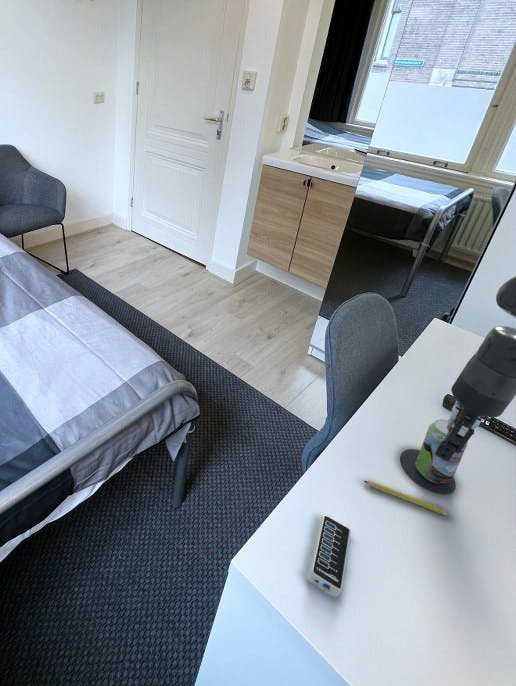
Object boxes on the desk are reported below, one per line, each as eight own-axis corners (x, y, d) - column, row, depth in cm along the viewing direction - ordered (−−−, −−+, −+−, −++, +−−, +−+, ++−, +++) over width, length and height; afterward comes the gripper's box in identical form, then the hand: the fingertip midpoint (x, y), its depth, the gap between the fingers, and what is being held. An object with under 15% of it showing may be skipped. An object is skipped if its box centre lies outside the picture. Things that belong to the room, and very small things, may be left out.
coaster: (458, 472, 85) (459, 471, 85) (450, 505, 79) (450, 504, 79) (406, 441, 91) (406, 440, 91) (394, 469, 84) (395, 468, 84)
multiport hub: (346, 536, 72) (351, 528, 71) (336, 599, 64) (341, 591, 63) (319, 520, 74) (323, 513, 73) (306, 579, 66) (311, 572, 65)
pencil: (361, 479, 82) (363, 476, 81) (444, 511, 77) (446, 508, 77) (362, 484, 81) (363, 481, 80) (445, 517, 77) (448, 513, 76)
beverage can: (436, 493, 80) (466, 453, 75) (400, 460, 86) (426, 420, 80) (456, 482, 83) (486, 442, 77) (420, 451, 89) (446, 411, 83)
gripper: (511, 418, 66) (462, 482, 74) (518, 374, 76) (474, 435, 83) (455, 391, 70) (414, 454, 78) (468, 352, 80) (430, 412, 88)
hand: (445, 444), depth 81 cm, fingers open, 7 cm apart
